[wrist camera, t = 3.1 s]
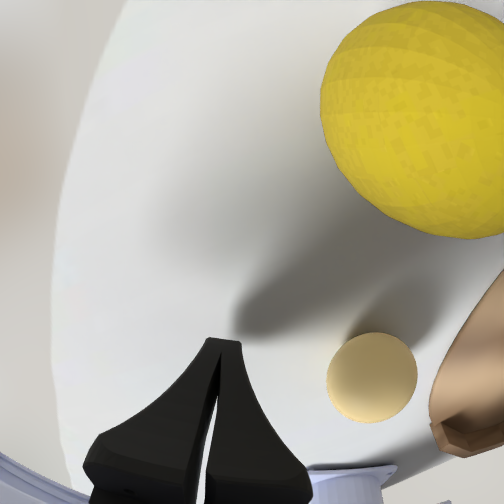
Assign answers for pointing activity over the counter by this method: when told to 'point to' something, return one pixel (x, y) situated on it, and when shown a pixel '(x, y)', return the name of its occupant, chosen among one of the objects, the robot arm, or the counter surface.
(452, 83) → the lemon
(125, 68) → the counter surface
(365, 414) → the pale yellow ball
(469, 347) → the groove tray
